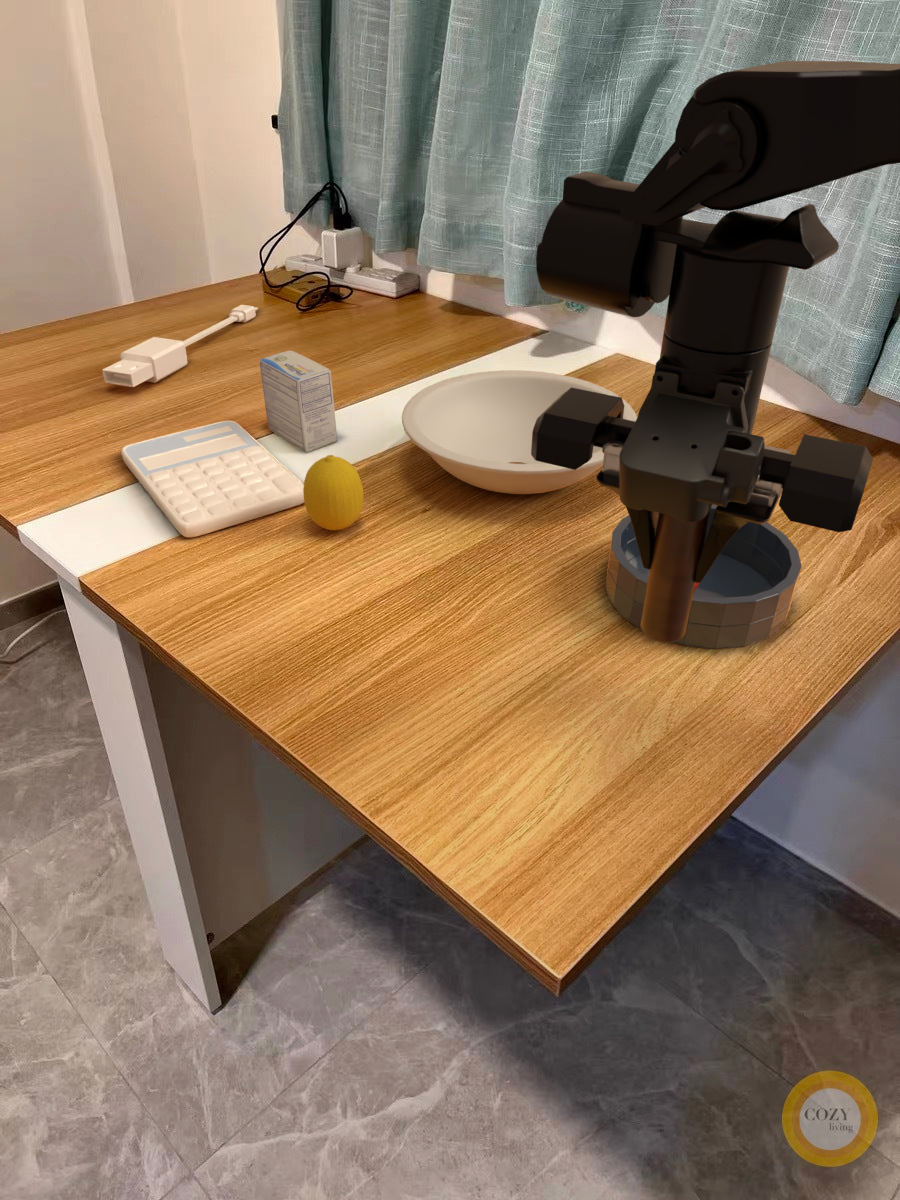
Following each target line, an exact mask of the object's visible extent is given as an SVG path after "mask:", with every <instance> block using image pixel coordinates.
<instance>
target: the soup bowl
mask: <svg viewBox="0 0 900 1200" xmlns="http://www.w3.org/2000/svg"><path fill="white" fill-rule="evenodd" d="M570 388H576V389H581V390H586V391H591V392H596V393H601V394H606V395H611V396H616V397H620V395H618V394H617V393H615V392H614V391H611V390H609V389H607V388H605V387H603V386H601V385H598V384H597V383H593V382H590V381H588V380H584V379H582V378H581V379H580V378H578V377H573V376H569V375H564V374H558V373H554V372H553V373H552V372H547V371H546V372H545V371H536V370H520V369H519V370H517V369H513V370H512V369H510V370H507V369H506V370H505V369H504V370H489V371H480V372H472V373H467V374H462V375H457V376H452V377H450V378H446V379H443V380H440V381H438V382H435V383H432V384H431V385H428V386H427V387H425V388H422V389H421V390H420V391H418V392H417V393H415V394H414V395H412V396H411V398H410V399H409V400H408V401H407V403H406V404H405V405H404V408H403V410H402V414H401V425H402V427H403V430H404V432H405V434H406V436H407V437H408V438H409V440H410V441H411V442H412V443H414V445H416V446H417V447H418V448H420V449H421V450H423V452H425V453H427V454H429V456H430V457H431V459H433V461H435V463H436V464H438V465H439V466H440V467H441V468H442V469H443V470H445V471H446V472H447V473H449V474H450V475H451V476H453V477H454V478H456V479H458V480H460V481H462V482H464V483H466V484H469V485H471V486H473V487H476V488H480V489H481V490H485V491H489V492H490V491H491V492H495V493H502V494H512V495H533V494H541V493H548V492H553V491H557V490H561V489H564V488H567V487H569V486H572V485H574V484H576V483H579V482H581V481H582V480H584V479H586V478H588V477H589V476H591V475H592V474H594V473H595V472H596V471H597V470H599V469H600V468H601V467H602V466H603V458H604V453H603V452H602V448H600V447H596V446H593V454H592V458H591V459H590V460H589V461H588V462H587V463H585V464H584V465H582V466H581V467H579V468H577V469H576V470H573V469H569V468H565V467H561V466H556V465H552V464H548V463H544V462H540V461H536V460H535V459H534V458H533V457H532V456H531V447H532V432H533V428H534V425H535V423H536V420H537V418H538V417H539V416H540V415H541V414H542V413H543V412H544V411H545V410H546V409H547V408H548V407H549V406H550V405H551V404H552V403H553V402H554V401H555V400H557V399H558V398H559V397H560V396H561V395H562V394H563V393H564V392H566V391H567V390H568V389H570ZM622 400H623V403H624V413H623V419H626V420H631V421H635V422H636V420H637V418H638V415H637V413H636V412H635V410H634V408H633V407H632V406H631V405H630V404H629V403H628V402H627V401H626V400H625V399H624V398H622Z"/></svg>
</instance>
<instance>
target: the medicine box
mask: <svg viewBox="0 0 900 1200" xmlns="http://www.w3.org/2000/svg"><path fill="white" fill-rule="evenodd" d="M259 370H260V377H261V378H260V379H261V384H262V385H261V386H262V391H263V397H264V407H265V414H266V420H267V425H268V426H267V427H268V430H269V431H271V432H272V433H274V434H276V435H278V436H279V437H281V438H283V439H284V440H286V441H288V442H289V443H290V444H292V445H294V446H296V447H298V448H299V449H301V450H302V451H304V452H305V453H309V452H312V451H315V450H317V449H320V448H323V447H325V446H328V445H330V444H333V443H336V442H338V431H337V422H336V411H335V401H334V399H335V398H334V390H333V380H332V379H333V378H332V371H331V369H329V368H328V367H326V366H325V365H322V364H320V363H318V362H316V361H314V360H313V359H311V358H308V357H307V356H304V355H303V354H300V353H298V352H296V351H293V350H286V351H283V352H279V353H275V354H271V355H269V356H266V357H264V358H261V359H259Z"/></svg>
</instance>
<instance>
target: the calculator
mask: <svg viewBox="0 0 900 1200" xmlns="http://www.w3.org/2000/svg"><path fill="white" fill-rule="evenodd" d="M121 457H122V458H121V459H122V460H123V462H124V464H125V465H126V467H127V469H129V470H130V472H131V473H132V475H134V477H135V478H136V479H137V481H138V482H139V484H141V486H142V487H143V488H144V489H145V491H146V492H147V494H148V495H149V496H150V497H151V498H152V500H153V502H155V504H156V505H157V506H158V508H159V509H160V510H161V512H163V514H164V515H165V516H166V517H167V519H168V520H169V521H170V523H171V525H173V526H174V528H175V529H176V530H177V532H178V533H179V534H180V535H181V536H183V537H185V538H196V537H199V536H203V535H207V534H209V533H213V532H216V531H217V532H218V531H219V530H223V529H226V528H230V527H232V526H236V525H239V524H242V523H245V522H249V521H252V520H256V519H259V518H262V517H265V516H268V515H273V514H275V513H279V512H281V511H284V510H288V509H291V508H293V507H294V508H295V507H297V506H300V505H302V504H305V503H304V494H303V488H304V482H302V481H301V480H300V479H299V478H298V477H297V476H296V475H295V474H294V473H293V472H292V471H291V470H290V469H288V468H287V467H286V466H285V464H283V463H282V462H281V461H280V460H278V458H277V457H275V456H274V454H272V453H271V452H270V451H269V450H268V449H267V448H265V447H264V445H262V444H261V443H260V442H259V441H258V440H257V439H255V437H253V435H251V434H250V433H249V431H247V430H246V429H245V428H244V427H243V426H241V425H240V424H239V423H238V422H236V421H234V420H228V419H227V420H221V421H217V422H213V423H210V424H205V425H201V426H197V427H193V428H189V429H185V430H181V431H177V432H173V433H168V434H165V435H161V436H157V437H153V438H149V439H145V440H141V441H137V442H133V443H130V444H127V445H124V446H123V447H122V449H121Z"/></svg>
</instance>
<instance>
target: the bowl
mask: <svg viewBox="0 0 900 1200" xmlns="http://www.w3.org/2000/svg"><path fill="white" fill-rule="evenodd" d="M716 507H717V505H713V504H712V508H711V512H710V517H709V522H708V527H707V532H706V537H705V541H706V538H707V536H708V533H709V530H710V528H711V525H712V522H713V519H714V514H715V509H716ZM705 541H704V544H705ZM703 547H704V546H703ZM802 565H803V564H802V562H801V557H800V553H799V549H798V548H797V547H796V546H795V544H794V543H793V542H792V541H791V540H790V539H789V537H788V536H787V535H786V534H785V532H782V531H781V530H779V529H778V528H776V527H775V526H774V525H772V524H771V523H769V521H768V522H766V523H763V524H757V523H752V522H748V523H747V524H745V525H744V526H742V527H741V528H740V529H739V530H738V531H737V532H736V533H735V534H734V535H733V536H732V537H731V539H730V540H729V541H728V542H727V543H726V545H725V546H724V548H723V549H722V551H721V552H720V554H719V555H718V557H717V558H716V560H715V562H714V563H713V565H712V566H711V568H710V569H709V571H708V572H707V574H706V575H705V577H704V578H703V580H702V581H701V583H700V584H698V587H697V589H696V591H695V592H694V595H693V599H692V604H691V609H690V614H689V619H688V624H687V628H686V633H685V635H684V636H683V637H682V638H681V639H679V640H677V641H673V642H671V643H672V644H676V645H679V646H684V647H689V648H698V649H707V650H726V649H736V648H743V647H747V646H751V645H755V644H758V643H759V642H760V643H761V642H762V641H764V640H766V639H768V638H770V637H772V636H773V635H774V634H776V633H777V632H778V631H779V630H780V629H781V628H782V627H783V626H784V624H785V622H786V620H787V617H788V614H789V612H790V609H791V605H792V602H793V598H794V596H795V593H796V589H797V585H798V581H799V578H800V575H801V574H800V573H801V572H802V568H803V567H802ZM606 569H607V570H606V578H605V579H606V580H605V592H606V595H607V597H608V599H609V602H610V603H611V605H612V606H613V608H614V609H615V610H616V611H617V613H618V614H619V615H620V616H621V617H623V618H624V619H625V620H626V621H627V622H628V623H630V624H631V625H633V626H634V627H635V628H637V629H639V630H641V631H642V629H641V619H642V613H643V607H644V601H645V595H646V589H647V583H648V577H649V571H650V570H648V569H644V568H643V564H642V561H641V557H640V553H639V549H638V545H637V541H636V537H635V533H634V530H633V526H632V522H631V519H630V516H629V514H628V515H627V516H624V517H623V518H621V520H620V521H619V522H618V524H617V525H616V526H615V527H614V529H613V531H611V539H610V547H609V555H608V561H607V568H606Z"/></svg>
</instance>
